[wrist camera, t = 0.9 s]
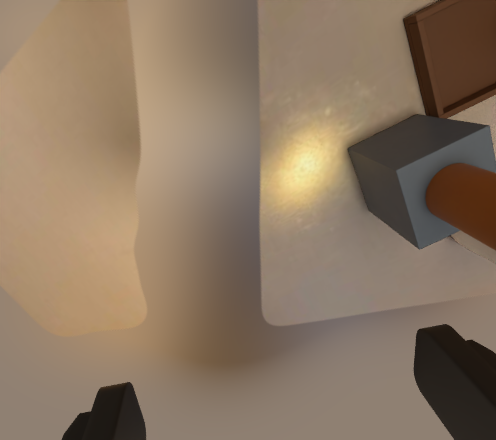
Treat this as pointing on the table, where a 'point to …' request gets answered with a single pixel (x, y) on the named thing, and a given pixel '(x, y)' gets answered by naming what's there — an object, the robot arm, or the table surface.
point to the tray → (454, 54)
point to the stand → (416, 170)
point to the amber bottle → (465, 200)
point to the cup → (475, 245)
